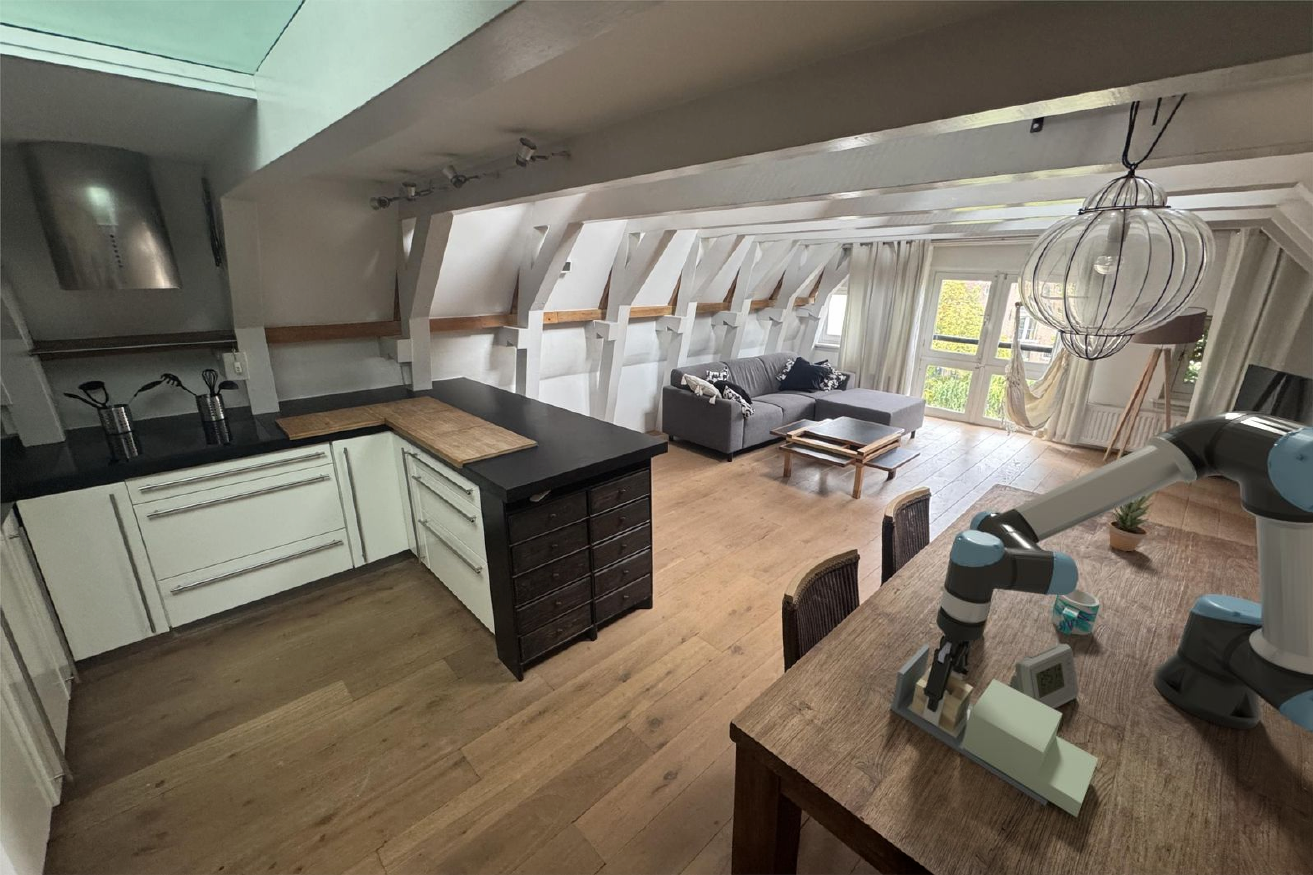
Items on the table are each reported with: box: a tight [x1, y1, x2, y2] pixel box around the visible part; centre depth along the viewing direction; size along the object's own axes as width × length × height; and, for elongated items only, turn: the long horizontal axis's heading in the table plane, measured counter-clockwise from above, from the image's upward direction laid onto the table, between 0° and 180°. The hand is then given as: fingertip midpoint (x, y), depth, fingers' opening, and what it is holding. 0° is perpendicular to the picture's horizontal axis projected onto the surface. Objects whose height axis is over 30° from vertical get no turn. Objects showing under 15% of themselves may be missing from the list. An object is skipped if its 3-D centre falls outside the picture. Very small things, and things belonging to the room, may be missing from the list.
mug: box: [1050, 587, 1101, 636], centre depth 126 cm, size 8×12×8 cm
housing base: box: [890, 643, 1049, 807], centre depth 95 cm, size 26×12×9 cm, turn 41°
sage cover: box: [962, 678, 1099, 818], centre depth 89 cm, size 17×12×8 cm
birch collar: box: [912, 667, 974, 732], centre depth 100 cm, size 8×8×6 cm
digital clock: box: [1008, 643, 1079, 710], centre depth 104 cm, size 16×9×11 cm, turn 102°
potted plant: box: [1107, 491, 1157, 552], centre depth 164 cm, size 10×10×25 cm
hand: (939, 709), depth 101 cm, fingers open, 8 cm apart
